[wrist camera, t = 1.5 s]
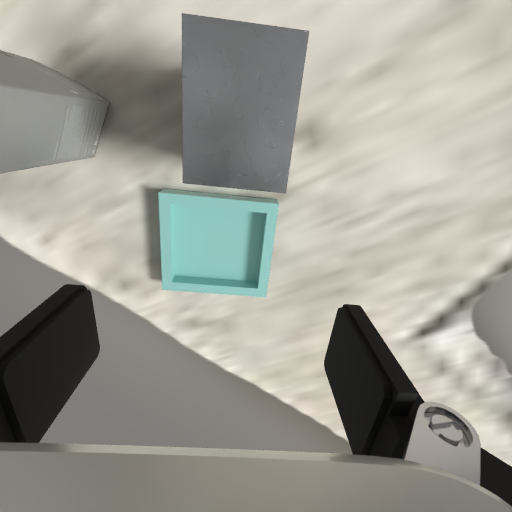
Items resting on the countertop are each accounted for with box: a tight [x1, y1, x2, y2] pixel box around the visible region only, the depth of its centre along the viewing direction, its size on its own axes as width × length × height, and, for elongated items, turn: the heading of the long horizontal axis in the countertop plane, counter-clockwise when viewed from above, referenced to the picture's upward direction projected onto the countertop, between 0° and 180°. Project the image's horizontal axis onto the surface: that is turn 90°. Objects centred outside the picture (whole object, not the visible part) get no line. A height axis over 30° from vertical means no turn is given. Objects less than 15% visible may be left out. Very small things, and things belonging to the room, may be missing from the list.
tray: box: [158, 189, 279, 297], centre depth 34 cm, size 12×13×2 cm
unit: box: [182, 13, 309, 193], centre depth 23 cm, size 11×9×14 cm
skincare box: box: [0, 50, 109, 173], centre depth 21 cm, size 8×7×16 cm
